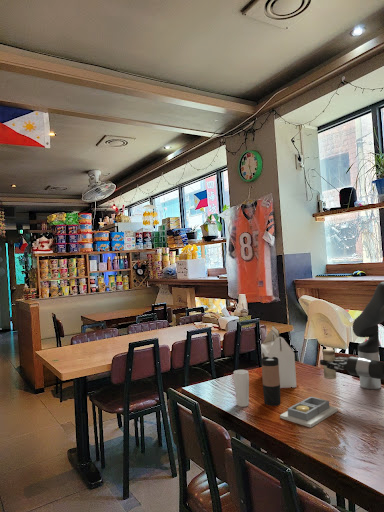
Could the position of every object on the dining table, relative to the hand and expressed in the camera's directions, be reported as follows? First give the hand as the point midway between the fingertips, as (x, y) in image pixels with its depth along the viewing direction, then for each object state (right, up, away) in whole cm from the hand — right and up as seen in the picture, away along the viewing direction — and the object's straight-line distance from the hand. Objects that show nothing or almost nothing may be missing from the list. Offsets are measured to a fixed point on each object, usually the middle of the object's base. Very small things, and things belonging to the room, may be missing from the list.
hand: (323, 360), depth 174 cm
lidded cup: (+2, -7, -2) cm, 7 cm away
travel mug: (-23, -19, 0) cm, 30 cm away
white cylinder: (-36, -20, 0) cm, 42 cm away
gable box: (-14, -19, +30) cm, 38 cm away
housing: (-11, -18, -15) cm, 26 cm away
